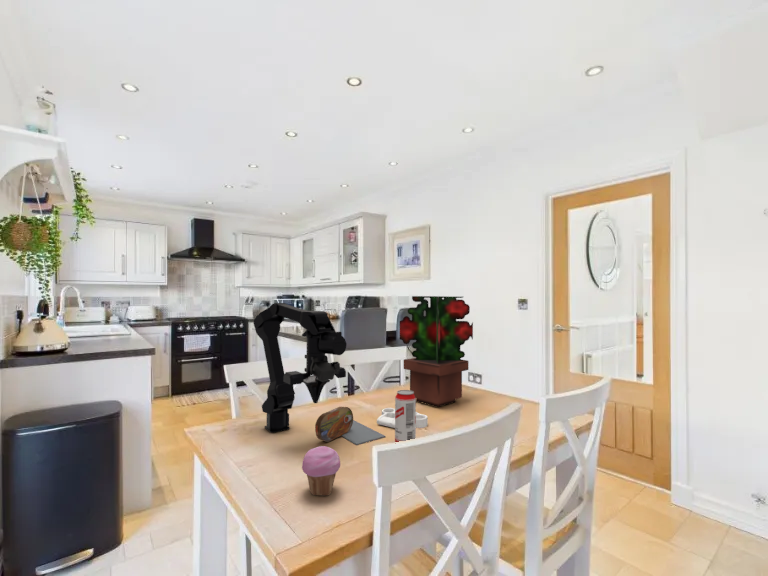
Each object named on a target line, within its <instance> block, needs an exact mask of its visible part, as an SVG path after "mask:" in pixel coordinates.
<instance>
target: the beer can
mask: <svg viewBox="0 0 768 576" xmlns="http://www.w3.org/2000/svg"><path fill="white" fill-rule="evenodd" d="M396 392H397V393H396V395H395V396H394V397H395V399H394V401H395V402H394V403H395V404H394V407H395V408H394V409H395V428H394V443H395V442H399V441H406V440H410V439H415V438H416V437H417V436H416V434H417V432H416V431H417V430H416V429H417V428H416V412H417V409H416V407H417V405H416V403H417V401H416V398H415V395H414V392H413V391H411V390H410V389H400V390H397V391H396ZM416 439H417V438H416Z"/></svg>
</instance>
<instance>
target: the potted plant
mask: <svg viewBox="0 0 768 576" xmlns="http://www.w3.org/2000/svg"><path fill="white" fill-rule="evenodd" d="M426 298H427V299H426ZM463 298H464V296H444V295H443V296H439V295H438V296H434V295H432V296H431V295H429V296H427V295H426V296H425V295H424V296H423V295H419V296H418V295H412V296H411V300H412V301H413V302H415V303H418V302H419V303H418V304H417V305H416V307H409V308H408V309H407V313H408V314H409V315H411V318H410V316H408V315H405V316H404V317H402V320H399V340H401V341H402V343H403V344H404V345H409V344H410V342H411V341H414V342H412V343H411V347H412V348H413V349H415V350H413V351H412V352H411V356H412V358H405V359H403V370H408V371H409V390H411V391H413V392H414V395H415V398H416V402H418V401H419V402H418V403H421V402H423V403H422V404H425V403H426V404H425V405H428V404H429V406H433V407H434V408H440V407H442V406H447V405H449V403H450V404H453V403H456V400H458V399H461V398H462V397H463V372H465V371H469V360H467V359H466V360H465V359H462V358H464V357H465V355H466V354H465V352H464V351H463V350H461V346H463V345H464V344H465V343H466V342H467V341H468V340H470V338H471V340H473V338H474V334H473V333H474V331H473V330H474V328H473V327H474V325H473V324H474V322H473V321H472V323H470V322H469V321H468V320H464V319H465V317H466V316H467V315H470V307H471V306H470V305H469V304H468V303H466V302H465V300H463ZM428 299H429V301H428ZM429 305H430V307H429ZM452 402H453V403H452ZM446 404H447V405H446Z"/></svg>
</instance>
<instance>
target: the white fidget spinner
mask: <svg viewBox="0 0 768 576" xmlns="http://www.w3.org/2000/svg"><path fill="white" fill-rule="evenodd" d="M428 418H429V416H428V415H426V414H423V413H419V412H418V411H416V429H417V428H418V429H424V428H426V427H428ZM376 424H377V425H379V426H385V427H389V428H391V429H395V408H394V407H386V408H383V409H382V410H381V415H380V416H378V417H377V419H376Z"/></svg>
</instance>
